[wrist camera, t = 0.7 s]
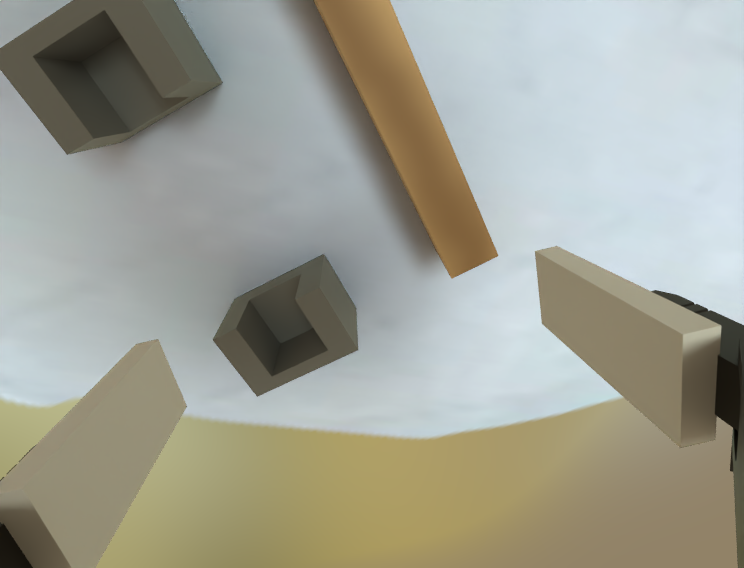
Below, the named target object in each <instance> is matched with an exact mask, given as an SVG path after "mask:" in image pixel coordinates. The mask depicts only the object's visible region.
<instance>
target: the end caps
mask: <svg viewBox="0 0 744 568" xmlns="http://www.w3.org/2000/svg"><path fill="white" fill-rule="evenodd" d="M0 70H1V71H2V72H3V74H4V75H5V76H6V77H7V79H8V80H9V81H10V82H11V84H12V85H13V86H14V88H15V89H16V90H17V91H18V93H19V94H20V95H21V96H22V98H23V99H24V100H25V102H26V103H27V104H28V105H29V107H30V108H31V109H32V110H33V112H34V113H35V114H36V116H37V117H38V118H39V119H40V121H41V122H42V123H43V124H44V126H45V127H46V128H47V130H48V131H49V132H50V133H51V135H52V136H53V137H54V139H55V140H56V141H57V142H58V144H59V145H60V146H61V147H62V149H63V150H64V151H65V153H66V154H67V155H68V154H72V153H77V152H81V151H85V150H90V149H94V148H99V147H103V146H107V145H112V144H116V143H121V142H123V141H125V140H126V139H128V138H130V137H131V136H133V135H135V134H136V133H138V132H140V131H141V130H143V129H145V128H147V127H148V126H150V125H152V124H153V123H155V122H157V121H158V120H160V119H162V118H164V117H165V116H167V115H169V114H170V113H172V112H174V111H175V110H177V109H179V108H181V107H182V106H184V105H186V104H187V103H189V102H191V101H192V100H194V99H196V98H198V97H199V96H201V95H203V94H204V93H206V92H208V91H209V90H211V89H213V88H214V87H216V86H218V85H220V84H221V83H223V82H222V81H221V79H220V77H219V76H218V74H217V72H216V71H215V69H214V67H213V66H212V64H211V62H210V61H209V59H208V57H207V55H206V54H205V52H204V50H203V49H202V47H201V45H200V44H199V42H198V40H197V39H196V37H195V35H194V34H193V32H192V30H191V28H190V27H189V25H188V23H187V22H186V20H185V18H184V17H183V15H182V13H181V12H180V10H179V8H178V7H177V5H176V3H175V1H174V0H73V1H71V2H70V3H68V4H67V5H65V6H64V7H62V8H61V9H59V10H58V11H56V12H55V13H53V14H52V15H50V16H49V17H47V18H46V19H44V20H43V21H41V22H39V23H38V24H36V25H35V26H33V27H32V28H30V29H29V30H27V31H26V32H24V33H23V34H21V35H20V36H18V37H17V38H15V39H14V40H12V41H11V42H9V43H8V44H6V45H5V46H3V47H2V48H0ZM213 341H214V342H215V343H216V345H217V346H218V347H219V349H220V350H221V351H222V352H223V354H224V355H225V356H226V357H227V359H228V360H229V361H230V363H231V364H232V365H233V366H234V368H235V369H236V370H237V371H238V373H239V374H240V375H241V377H242V378H243V379H244V380H245V382H246V383H247V384H248V385H249V387H250V388H251V389H252V391H253V392H254V393H255V394H256V396H259V395H262V394H264V393H266V392H268V391H270V390H272V389H275V388H277V387H279V386H281V385H283V384H285V383H288V382H290V381H292V380H294V379H296V378H298V377H301V376H303V375H305V374H307V373H309V372H311V371H314V370H316V369H318V368H320V367H322V366H324V365H327V364H329V363H331V362H333V361H335V360H337V359H340V358H342V357H344V356H346V355H348V354H350V353H353V352H355V351H357V350H358V334H357V312H356V307H355V305H354V304H353V302H352V300H351V298H350V297H349V295H348V293H347V292H346V290H345V288H344V287H343V285H342V283H341V282H340V280H339V278H338V277H337V275H336V273H335V271H334V270H333V268H332V266H331V265H330V263H329V261H328V260H327V258H326V256H325V255H324V254H323V255H321V256H319V257H317V258H315V259H313V260H311V261H309V262H307V263H305V264H303V265H301V266H299V267H297V268H295V269H293V270H291V271H289V272H287V273H285V274H283V275H281V276H279V277H277V278H275V279H273V280H271V281H269V282H267V283H265V284H263V285H261V286H259V287H257V288H255V289H253V290H251V291H249V292H247V293H245V294H243V295H241V296H239V297H237V298H236V299H234V301H233V303H232V305H231V307H230V309H229V311H228V312H227V314H226V316H225V318H224V320H223V322H222V324H221V325H220V327H219V329H218V331H217V333H216V335H215V337H214V338H213Z"/></svg>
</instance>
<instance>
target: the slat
mask: <svg viewBox="0 0 744 568" xmlns="http://www.w3.org/2000/svg"><path fill="white" fill-rule="evenodd" d="M313 1H314V3H315V5H316V7H317V9H318V11H319V13H320V15H321V17H322V19H323V21H324V23H325V25H326V28H327V30H328V32H329V34H330V36H331V38H332V40H333V42H334V44H335V46H336V48H337V50H338V52H339V54H340V56H341V58H342V60H343V62H344V64H345V66H346V68H347V70H348V72H349V74H350V76H351V78H352V81H353V83H354V85H355V87H356V89H357V91H358V93H359V95H360V97H361V99H362V101H363V103H364V105H365V107H366V109H367V111H368V113H369V115H370V117H371V119H372V121H373V123H374V125H375V127H376V129H377V131H378V133H379V136H380V138H381V140H382V142H383V144H384V146H385V148H386V150H387V152H388V154H389V156H390V158H391V160H392V162H393V164H394V166H395V168H396V170H397V172H398V174H399V176H400V178H401V180H402V182H403V184H404V186H405V189H406V191H407V193H408V195H409V197H410V199H411V201H412V203H413V205H414V207H415V209H416V211H417V213H418V215H419V217H420V219H421V221H422V223H423V225H424V227H425V229H426V231H427V233H428V235H429V237H430V239H431V241H432V244H433V246H434V248H435V250H436V252H437V253H438V255H439V257H440V259H441V260H442V262H443V264H444V266H445V268H446V269H447V271H448V273H449V275H450V276H451V278H454V277H456V276H458V275H460V274H462V273H464V272H466V271H468V270H471V269H473V268H475V267H477V266H479V265H481V264H483V263H485V262H487V261H489V260H491V259H493V258H495V257H497V256H498V254H497V251H496V249H495V247H494V244H493V242H492V240H491V237H490V235H489V233H488V230H487V228H486V225H485V223H484V221H483V218H482V216H481V214H480V211H479V209H478V207H477V204H476V202H475V200H474V197H473V195H472V193H471V190H470V188H469V186H468V183H467V181H466V178H465V176H464V174H463V171H462V169H461V167H460V164H459V162H458V160H457V157H456V155H455V153H454V150H453V148H452V146H451V143H450V141H449V139H448V136H447V134H446V132H445V129H444V127H443V124H442V122H441V120H440V117H439V115H438V113H437V110H436V108H435V106H434V103H433V101H432V99H431V96H430V94H429V92H428V89H427V87H426V85H425V82H424V80H423V77H422V75H421V73H420V70H419V68H418V66H417V63H416V61H415V59H414V56H413V54H412V52H411V49H410V47H409V45H408V42H407V40H406V38H405V35H404V33H403V31H402V28H401V26H400V23H399V21H398V19H397V16H396V14H395V12H394V9H393V7H392V5H391V2H390V0H313Z"/></svg>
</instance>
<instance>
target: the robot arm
mask: <svg viewBox="0 0 744 568" xmlns="http://www.w3.org/2000/svg"><path fill="white" fill-rule="evenodd" d="M535 257H536V267H537V277H538V288H539V298H540V308H541V319H542V324H543V325H544V326H545V327H546V328H547V329H549V330H550V331H551V332H552V333H553V334H554V335H555V336H556V337H557V338H559V339H560V340H561V341H562V342H563V343H564V344H565V345H566V346H567V347H569V348H570V349H571V350H572V351H573V352H574V353H575V354H576V355H577V356H579V357H580V358H581V359H582V360H583V361H584V362H585V363H586V364H587V365H589V366H590V367H591V368H592V369H593V370H594V371H595V372H596V373H597V374H599V375H600V376H601V377H602V378H603V379H604V380H605V381H606V382H608V383H609V384H610V385H611V386H612V387H613V388H614V389H615V390H616V391H618V392H619V393H620V394H621V395H622V396H623V397H624V398H625V399H626V400H628V401H629V402H630V403H631V404H632V405H633V406H634V407H635V408H636V409H638V410H639V411H640V412H641V413H642V414H643V415H644V416H645V417H647V418H648V419H649V420H650V421H651V422H652V423H653V424H654V425H655V426H657V427H658V428H659V429H660V430H661V431H662V432H663V433H664V434H665V435H666V436H668V437H669V438H670V439H671V440H672V441H673V442H674V443H675V444H676V445H678V446H679V447H680V448H683V447H687V446H692V445H695V444H700V443H705V442H709V441H713V440H715V435H716V417H717V416H718V417H719V418H721V419H722V420H723V421H725V422H726V423H727V424H729V425H730V426H732V427H733V436H732V450H731V464H730V471H733V473H734V494H735V515H736V535H737V536H736V537H737V558H738V568H744V325H742V324H740V323H737V322H735V321H733V320H731V319H729V318H727V317H724V316H722V315H720V314H718V313H716V312H713V311H708V309H707V308H705V307H702V306H700V305H698V304H695V305H694V302H691V301H689V300H687V299H685V298H683V297H680V296H678V295H675V294H670V293H666V292H661V291H657V290H655V291H649V290H647V289H645V288H643V287H641V286H639V285H636V284H634V283H632V282H630V281H628V280H626V279H624V278H622V277H620V276H618V275H616V274H614V273H612V272H610V271H608V270H605V269H603V268H601V267H599V266H597V265H595V264H593V263H591V262H589V261H587V260H585V259H583V258H581V257H579V256H576V255H574V254H572V253H570V252H568V251H566V250H564V249H562V248H560V247H558V246H555V247H551V248H546V249H542V250H538V251H535ZM186 407H187V406H186V403H185V401H184V399H183V396H182V394H181V392H180V389H179V387H178V385H177V382H176V380H175V378H174V375H173V373H172V371H171V368H170V366H169V363H168V361H167V359H166V356H165V354H164V352H163V349H162V347H161V345H160V342H159V340H158V339H156V340H152V341H147V342H143V343H139V344H136V345H135V346H134V347H133V348H132V349H131V350H130V351H129V352H128V353H127V354H126V355H125V356H124V357H123V358H122V359H121V360H120V361H119V362H118V363H117V364H116V365H115V366H114V367H113V368H112V369H111V370H110V371H109V372H108V373H107V374H106V375H105V376H104V377H103V378H102V379H101V380H100V381H99V382H98V383H97V384H96V385H95V386H94V387H93V388H92V389H91V390H90V391H89V392H88V393H87V394H86V395H85V396H84V397H83V398H82V399H81V400H80V401H79V402H78V403H77V405H75V406H74V407H73V408H72V409H71V410H70V411H69V412H68V413H67V414H66V415H65V416H64V417H63V418H62V419H61V420H60V422H58V423H57V424H56V425H55V426H54V428H53V429H52V430H51V431H50V432H49V433H48V434H47V435H46V436H45V437H44V438H43V439H42V440H41V441H40V442H39V443H38V444H37V445H35V446H34V447H33V448H32V449H31V450H30V451H29V452H28V453H27V454H26V455H25V456H24V457H23V458H22V459H21V460H20V461H19V463H18V464H16V465H15V466H14V467H13V468H12V469H11V470H10V471H9V472H8V473H7V475H6V476H5V477H3V478H2V479H1V480H0V568H95V567H96V566H97V564H98V562H99V560H100V558H101V557H102V555H103V553H104V551H105V550H106V548H107V546H108V544H109V543H110V541H111V539H112V537H113V536H114V534H115V532H116V530H117V528H118V527H119V525H120V523H121V521H122V520H123V518H124V516H125V514H126V513H127V511H128V509H129V507H130V506H131V504H132V502H133V500H134V499H135V497H136V495H137V493H138V492H139V490H140V488H141V486H142V485H143V483H144V481H145V479H146V477H147V476H148V474H149V472H150V470H151V469H152V467H153V465H154V463H155V462H156V460H157V458H158V456H159V455H160V453H161V451H162V449H163V448H164V446H165V444H166V442H167V440H168V439H169V437H170V435H171V433H172V432H173V430H174V428H175V426H176V425H177V423H178V421H179V419H180V417H181V416H182V414H183V412H184V411H185V409H186Z"/></svg>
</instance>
